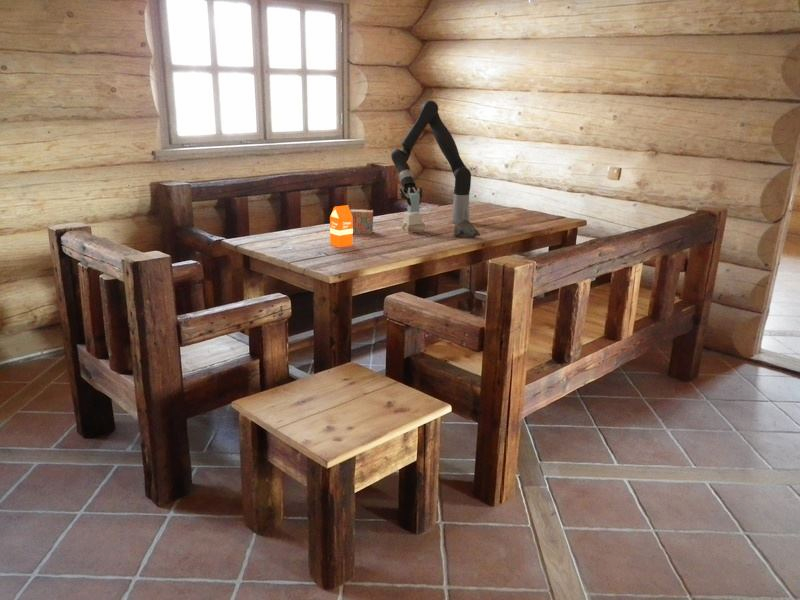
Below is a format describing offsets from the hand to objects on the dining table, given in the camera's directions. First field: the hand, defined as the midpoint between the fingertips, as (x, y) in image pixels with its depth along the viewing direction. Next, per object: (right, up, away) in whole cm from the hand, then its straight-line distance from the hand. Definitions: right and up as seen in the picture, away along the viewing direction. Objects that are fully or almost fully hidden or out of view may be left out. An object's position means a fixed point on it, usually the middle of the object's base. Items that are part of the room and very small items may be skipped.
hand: (414, 204), depth 379 cm
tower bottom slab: (-1, -14, +6) cm, 15 cm away
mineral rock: (+28, -19, -7) cm, 34 cm away
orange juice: (-38, -25, -30) cm, 54 cm away
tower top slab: (-1, -9, +5) cm, 11 cm away
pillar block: (-1, -3, +3) cm, 5 cm away
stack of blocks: (-34, -16, 0) cm, 37 cm away
